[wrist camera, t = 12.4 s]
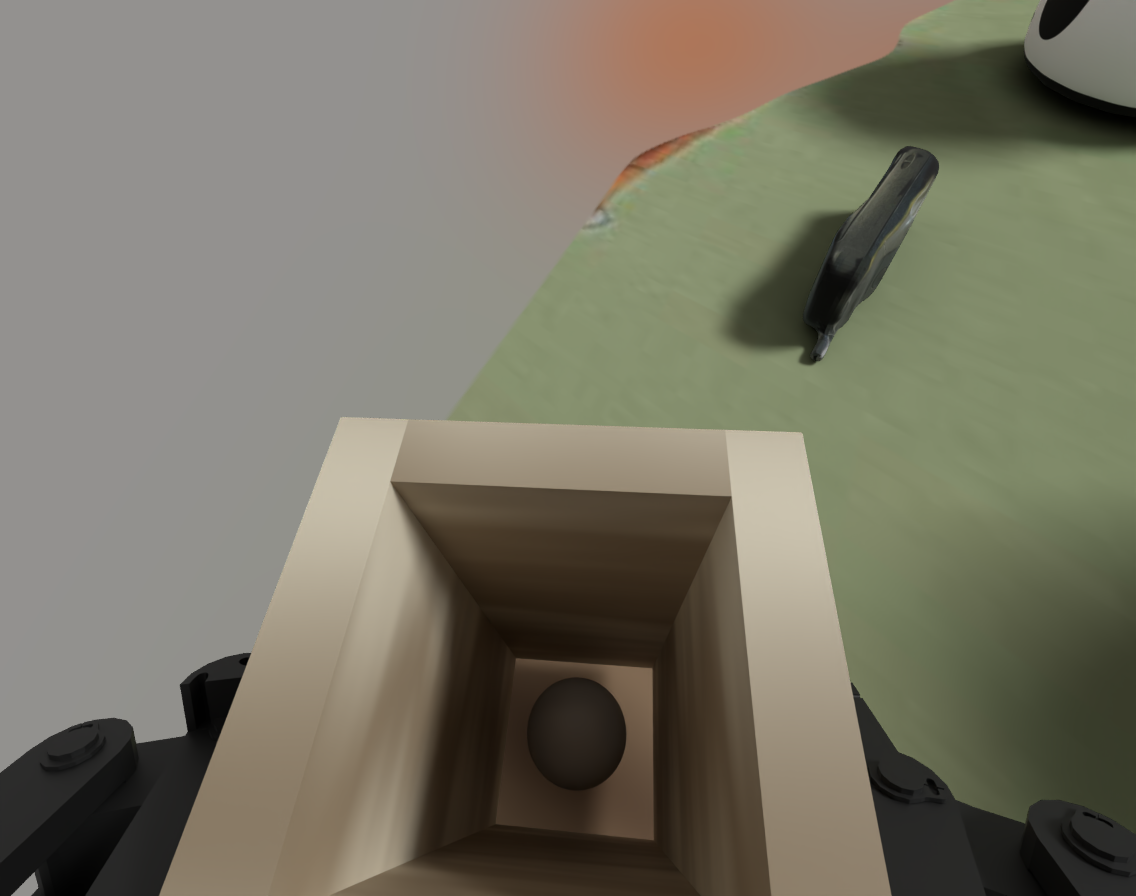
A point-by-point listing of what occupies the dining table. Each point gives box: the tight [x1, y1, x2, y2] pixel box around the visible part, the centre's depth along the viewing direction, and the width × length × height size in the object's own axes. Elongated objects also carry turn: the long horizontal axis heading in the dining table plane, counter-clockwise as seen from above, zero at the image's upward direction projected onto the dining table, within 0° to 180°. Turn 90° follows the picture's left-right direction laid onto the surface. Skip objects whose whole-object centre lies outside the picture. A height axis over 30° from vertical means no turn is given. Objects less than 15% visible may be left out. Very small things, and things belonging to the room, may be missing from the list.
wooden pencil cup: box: [159, 417, 892, 896], centre depth 11 cm, size 6×6×12 cm
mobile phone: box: [803, 146, 939, 361], centre depth 29 cm, size 5×3×15 cm
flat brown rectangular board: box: [496, 658, 654, 840], centre depth 15 cm, size 18×12×9 cm, turn 156°
